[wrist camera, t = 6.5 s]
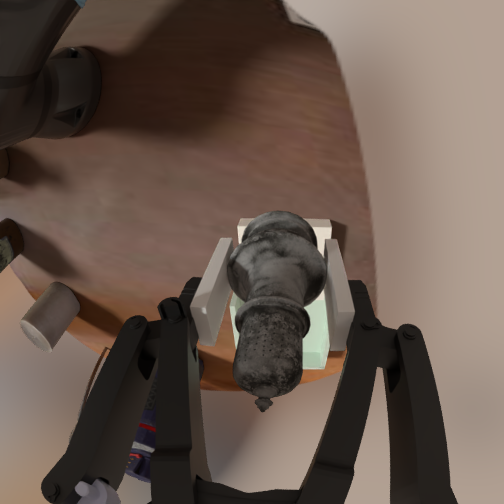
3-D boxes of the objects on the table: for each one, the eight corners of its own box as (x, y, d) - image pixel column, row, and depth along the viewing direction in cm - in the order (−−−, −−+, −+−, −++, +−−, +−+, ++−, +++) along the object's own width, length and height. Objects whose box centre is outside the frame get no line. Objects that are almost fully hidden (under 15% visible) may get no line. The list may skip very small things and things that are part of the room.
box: (234, 287, 44) (229, 304, 41) (334, 289, 42) (337, 306, 38) (242, 350, 52) (238, 365, 49) (323, 352, 50) (324, 369, 47)
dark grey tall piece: (224, 219, 18) (154, 372, 8) (310, 196, 17) (334, 357, 7) (253, 286, 21) (222, 437, 11) (329, 271, 20) (347, 430, 9)
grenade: (145, 348, 57) (96, 460, 32) (176, 333, 52) (123, 469, 27) (188, 380, 62) (154, 487, 37) (222, 370, 57) (191, 495, 32)
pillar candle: (50, 297, 55) (19, 338, 42) (51, 273, 50) (13, 316, 37) (79, 318, 57) (50, 363, 44) (82, 297, 52) (47, 345, 39)
